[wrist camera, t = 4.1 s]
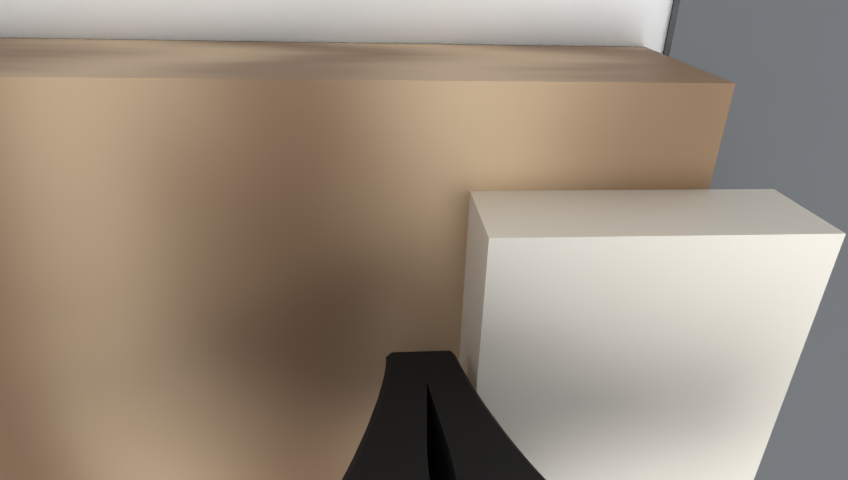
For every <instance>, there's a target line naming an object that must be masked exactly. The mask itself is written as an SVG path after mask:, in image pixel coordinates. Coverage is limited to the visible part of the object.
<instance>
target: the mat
mask: <svg viewBox="0 0 848 480" xmlns="http://www.w3.org/2000/svg"><path fill="white" fill-rule="evenodd" d="M664 55H666V56H668V57H671V58H673V59H676V60H678V61H681V62H683V63H686V64H688V65H691V66H693V67H696V68H698V69H701V70H703V71H706V72H708V73H711V74H713V75H716V76H718V77H721V78H723V79H726V80H728V81H731V82H733V83H736V84H735V88H734V92H733V96H732V100H731V104H730V108H729V112H728V116H727V120H726V124H725V128H724V132H723V136H722V139H721V143H720V147H719V151H718V155H717V159H716V163H715V167H714V171H713V175H712V179H711V183H710V187H709V189H775V190H776V191H778V192H780V193H781V194H783V195H784V196H786V197H788V198H789V199H791V200H792V201H794V202H796V203H797V204H799V205H801V206H802V207H804V208H805V209H807V210H809V211H810V212H812V213H813V214H815V215H817V216H818V217H820V218H821V219H823V220H825V221H826V222H828V223H830V224H831V225H833V226H834V227H836V228H838V229H839V230H841V231H842V232H844V233H846V235H845V237H844V240H843V243H842V245H841V248H840V251H839V253H838V256H837V259H836V261H835V264H834V267H833V269H832V272H831V275H830V277H829V280H828V283H827V285H826V288H825V291H824V293H823V296H822V299H821V301H820V304H819V307H818V310H817V312H816V315H815V318H814V320H813V323H812V326H811V328H810V331H809V334H808V336H807V339H806V342H805V344H804V347H803V350H802V352H801V355H800V358H799V360H798V363H797V366H796V368H795V371H794V374H793V376H792V379H791V382H790V384H789V387H788V390H787V392H786V395H785V398H784V400H783V403H782V406H781V408H780V411H779V414H778V416H777V419H776V422H775V424H774V427H773V430H772V432H771V435H770V438H769V440H768V443H767V446H766V448H765V451H764V454H763V457H762V459H761V462H760V465H759V467H758V470H757V473H756V475H755V478H754V480H848V0H674V4H673V9H672V14H671V19H670V24H669V29H668V34H667V40H666V45H665V50H664Z"/></svg>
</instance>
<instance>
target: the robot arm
mask: <svg viewBox="0 0 848 480" xmlns="http://www.w3.org/2000/svg"><path fill="white" fill-rule="evenodd" d="M342 480H546V479H545V478H544V477H543V476H542V475H541V474H540V473H539V472H538V471H537V469H536V468H535V467H534V466H533V465H532V464H531V463H530V462H529V460H528V459H527V458H526V457H525V456H524V455H523V453H522V452H521V451H520V450H519V449H518V447H517V446H516V445H515V444H514V443H513V441H512V440H511V439H510V438H509V436H508V435H507V434H506V432H505V431H504V430H503V429H502V427H501V426H500V425H499V423H498V422H497V420H496V419H495V418H494V416H493V415H492V414H491V412H490V411H489V409H488V408H487V407H486V405H485V404H484V402H483V401H482V399H481V398H480V396H479V395H478V393H477V392H476V390H475V389H474V387H473V386H472V384H471V382H470V381H469V379H468V377H467V376H466V374H465V372H464V371H463V369H462V367H461V365H460V363H459V362H458V360H457V358H456V355H455V354H453V353H452V352H451V351H417V352H391V353H390V354H389V355H388V356H387V357H386V367H385V373H384V378H383V382H382V386H381V389H380V392H379V396H378V399H377V402H376V405H375V407H374V410H373V413H372V415H371V418H370V421H369V423H368V426H367V428H366V431H365V433H364V435H363V437H362V440H361V442H360V444H359V446H358V448H357V450H356V453H355V455H354V457H353V459H352V461H351V463H350V465H349V467H348V469H347V471H346V473H345V475H344V477H343V478H342Z"/></svg>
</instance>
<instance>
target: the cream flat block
mask: <svg viewBox="0 0 848 480" xmlns="http://www.w3.org/2000/svg"><path fill="white" fill-rule="evenodd" d="M845 235H846V233H844V232H842V231H841V230H839V229H838V228H836V227H834V226H833V225H831V224H830V223H828V222H826V221H825V220H823V219H821V218H820V217H818V216H817V215H815V214H813V213H812V212H810V211H809V210H807V209H805V208H804V207H802V206H801V205H799V204H797V203H796V202H794V201H792V200H791V199H789V198H788V197H786V196H784V195H783V194H781V193H780V192H778V191H776V190H775V189H694V190H529V191H470V201H469V216H468V232H467V247H466V263H465V278H464V294H463V309H462V325H461V340H460V356H459V363H460V365H461V367H462V369H463V371H464V372H465V374H466V376H467V377H468V379H469V381H470V382H471V384H472V386H473V387H474V389H475V390H476V392H477V393H478V395H479V396H480V398H481V399H482V401H483V402H484V404H485V405H486V407H487V408H488V409H489V411H490V412H491V414H492V415H493V416H494V418H495V419H496V420H497V422H498V423H499V425H500V426H501V427H502V429H503V430H504V431H505V432H506V434H507V435H508V436H509V438H510V439H511V440H512V441H513V443H514V444H515V445H516V446H517V447H518V449H519V450H520V451H521V452H522V453H523V455H524V456H525V457H526V458H527V459H528V460H529V462H530V463H531V464H532V465H533V466H534V467H535V468H536V469H537V471H538V472H539V473H540V474H541V475H542V476H543V477H544V478H545V479H546V480H754V478H755V475H756V473H757V470H758V467H759V465H760V462H761V459H762V457H763V454H764V451H765V448H766V446H767V443H768V440H769V438H770V435H771V432H772V430H773V427H774V424H775V422H776V419H777V416H778V414H779V411H780V408H781V406H782V403H783V400H784V398H785V395H786V392H787V390H788V387H789V384H790V382H791V379H792V376H793V374H794V371H795V368H796V366H797V363H798V360H799V358H800V355H801V352H802V350H803V347H804V344H805V342H806V339H807V336H808V334H809V331H810V328H811V326H812V323H813V320H814V318H815V315H816V312H817V310H818V307H819V304H820V301H821V299H822V296H823V293H824V291H825V288H826V285H827V283H828V280H829V277H830V275H831V272H832V269H833V267H834V264H835V261H836V259H837V256H838V253H839V251H840V248H841V245H842V243H843V240H844V237H845Z"/></svg>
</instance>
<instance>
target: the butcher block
mask: <svg viewBox="0 0 848 480" xmlns="http://www.w3.org/2000/svg"><path fill="white" fill-rule="evenodd" d="M735 84H736V83H733V82H731V81H728V80H726V79H723V78H721V77H718V76H716V75H713V74H711V73H708V72H706V71H703V70H701V69H698V68H696V67H693V66H691V65H688V64H686V63H683V62H681V61H678V60H676V59H673V58H671V57H668V56H666V55H663V54H661V53H658V52H656V51H653V50H651V49H648V48H646V47H606V46H535V45H465V44H395V43H325V42H254V41H184V40H114V39H44V38H0V480H342V478H343V477H344V475H345V473H346V471H347V469H348V467H349V465H350V463H351V461H352V459H353V457H354V455H355V453H356V450H357V448H358V446H359V444H360V442H361V440H362V437H363V435H364V433H365V431H366V428H367V426H368V423H369V421H370V418H371V415H372V413H373V410H374V407H375V405H376V402H377V399H378V396H379V392H380V389H381V386H382V382H383V378H384V373H385V367H386V357H387V356H388V355H389V354H390V353H391V352H417V351H451V352H452V353H453V354H455V355H456V358H457V360H458V362H459V356H460V340H461V325H462V309H463V294H464V278H465V263H466V247H467V232H468V216H469V201H470V191H529V190H694V189H709V187H710V183H711V179H712V175H713V171H714V167H715V163H716V159H717V155H718V151H719V147H720V143H721V139H722V136H723V132H724V128H725V124H726V120H727V116H728V112H729V108H730V104H731V100H732V96H733V92H734V88H735Z"/></svg>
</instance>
